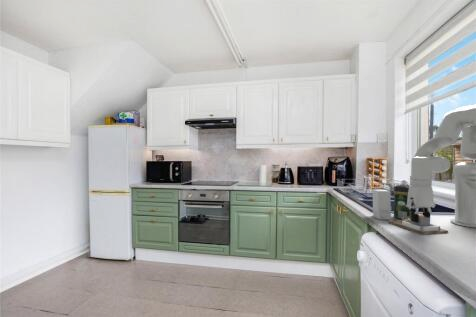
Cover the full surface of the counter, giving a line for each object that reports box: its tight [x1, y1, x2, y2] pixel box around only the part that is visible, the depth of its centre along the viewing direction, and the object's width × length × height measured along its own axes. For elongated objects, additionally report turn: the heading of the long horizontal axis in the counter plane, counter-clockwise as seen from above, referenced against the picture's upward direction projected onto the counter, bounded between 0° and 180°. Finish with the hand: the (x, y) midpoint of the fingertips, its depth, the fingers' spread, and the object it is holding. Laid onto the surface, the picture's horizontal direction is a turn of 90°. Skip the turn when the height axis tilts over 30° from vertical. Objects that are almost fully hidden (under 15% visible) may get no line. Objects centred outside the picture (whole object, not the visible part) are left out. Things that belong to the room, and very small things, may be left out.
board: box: [387, 215, 449, 236], centre depth 110 cm, size 14×18×4 cm
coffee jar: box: [393, 184, 411, 220], centre depth 128 cm, size 10×8×19 cm
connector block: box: [411, 214, 431, 227], centre depth 107 cm, size 5×5×6 cm
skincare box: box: [372, 189, 392, 221], centre depth 127 cm, size 8×7×16 cm
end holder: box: [402, 221, 441, 232], centre depth 107 cm, size 10×10×2 cm
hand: (420, 221), depth 107 cm, fingers open, 5 cm apart
